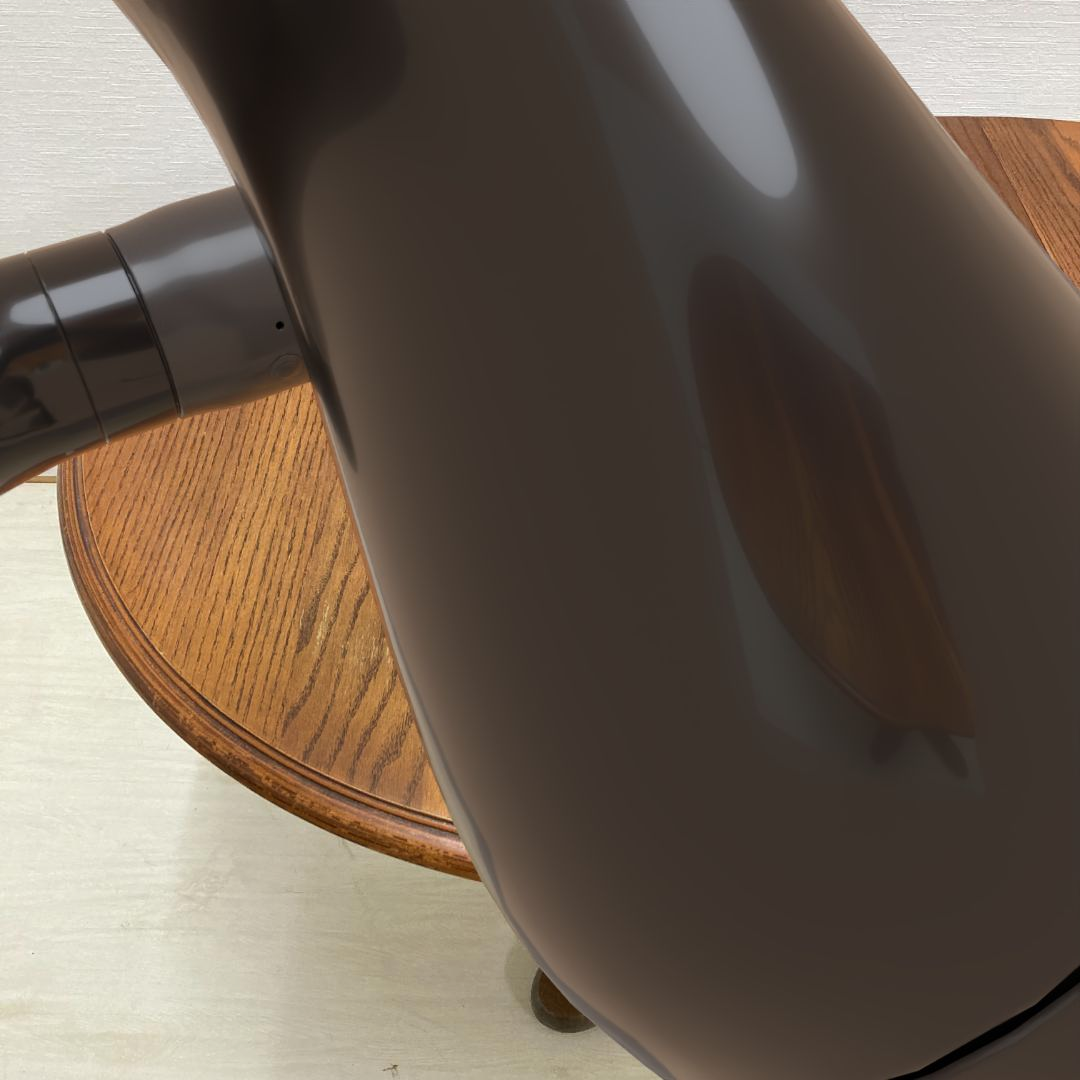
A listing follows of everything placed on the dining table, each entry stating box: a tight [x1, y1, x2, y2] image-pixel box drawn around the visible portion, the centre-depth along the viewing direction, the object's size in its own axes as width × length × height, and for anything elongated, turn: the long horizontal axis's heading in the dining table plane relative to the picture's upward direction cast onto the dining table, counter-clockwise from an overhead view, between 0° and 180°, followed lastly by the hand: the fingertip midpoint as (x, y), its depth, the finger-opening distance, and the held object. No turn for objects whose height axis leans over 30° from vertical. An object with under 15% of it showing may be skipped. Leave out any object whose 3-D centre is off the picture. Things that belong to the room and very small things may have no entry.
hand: (626, 175), depth 47 cm, fingers open, 8 cm apart
